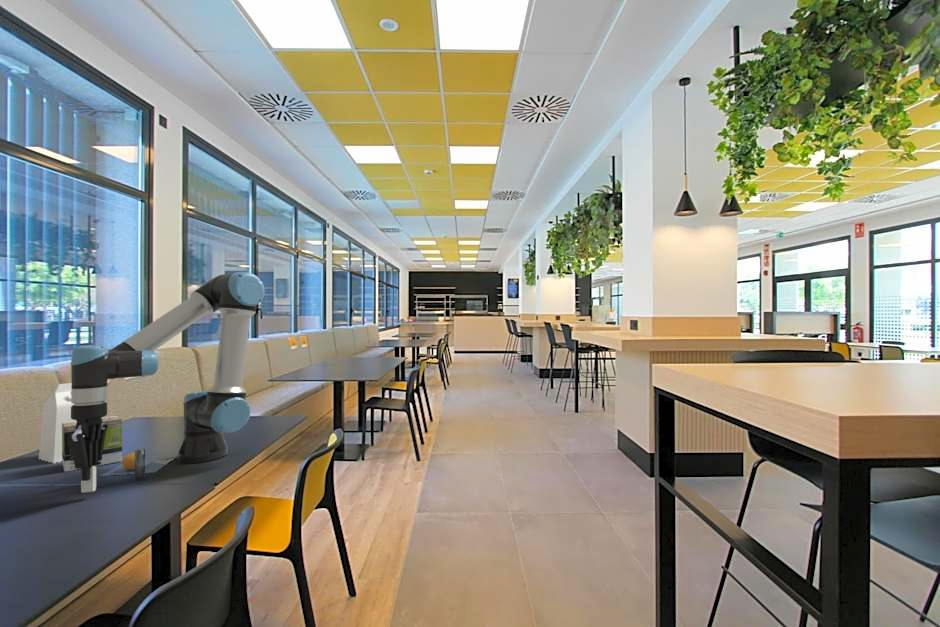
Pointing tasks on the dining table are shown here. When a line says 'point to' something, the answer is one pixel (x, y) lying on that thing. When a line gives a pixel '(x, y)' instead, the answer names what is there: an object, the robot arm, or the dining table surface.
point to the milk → (55, 423)
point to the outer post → (96, 473)
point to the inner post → (139, 464)
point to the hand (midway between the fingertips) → (88, 491)
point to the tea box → (111, 443)
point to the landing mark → (121, 470)
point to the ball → (129, 462)
